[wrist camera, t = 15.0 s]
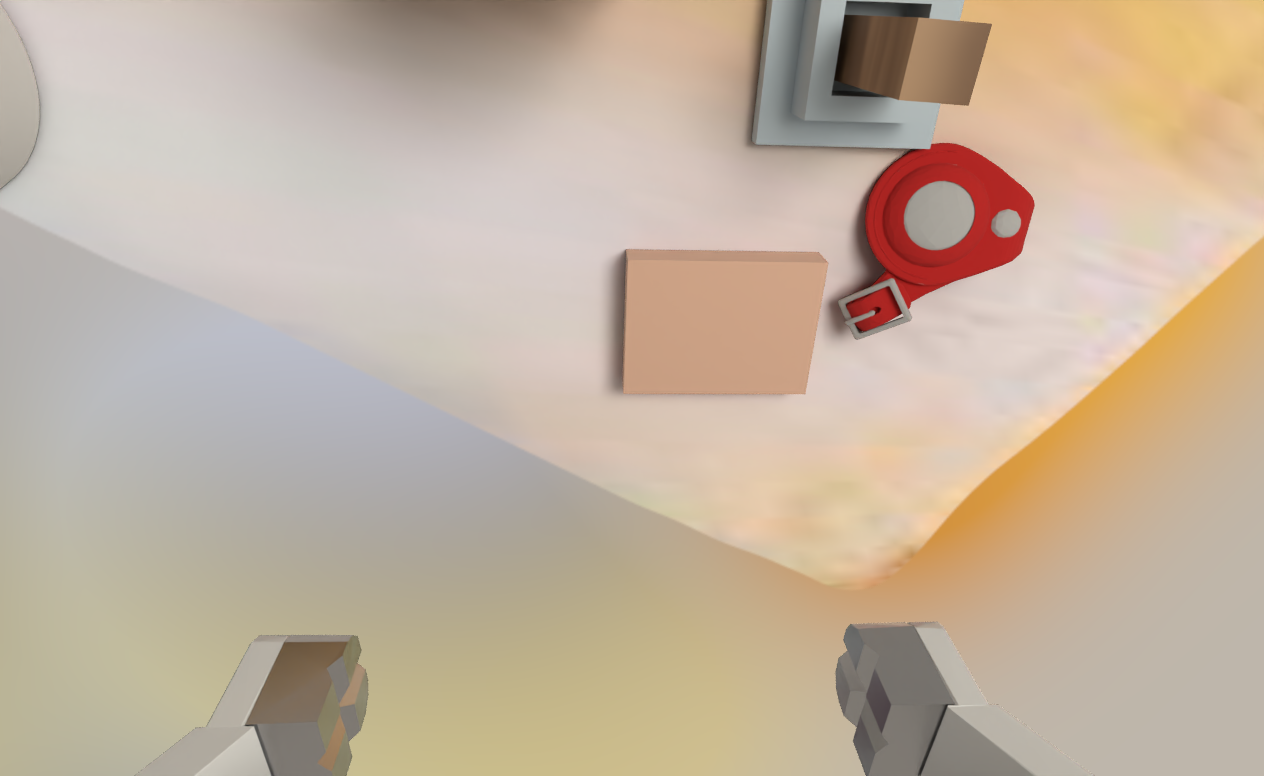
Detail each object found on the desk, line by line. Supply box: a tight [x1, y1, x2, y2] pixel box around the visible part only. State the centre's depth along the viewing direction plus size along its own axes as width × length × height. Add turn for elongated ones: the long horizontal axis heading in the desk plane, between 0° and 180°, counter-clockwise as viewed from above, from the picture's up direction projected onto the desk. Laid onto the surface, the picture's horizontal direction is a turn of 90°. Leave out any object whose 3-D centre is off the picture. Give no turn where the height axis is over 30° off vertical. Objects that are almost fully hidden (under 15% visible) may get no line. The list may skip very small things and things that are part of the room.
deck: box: [622, 249, 828, 394], centre depth 44 cm, size 12×9×2 cm
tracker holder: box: [838, 143, 1034, 340], centre depth 42 cm, size 12×4×10 cm
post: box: [834, 15, 992, 106], centre depth 32 cm, size 3×3×10 cm
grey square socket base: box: [752, 0, 964, 149], centre depth 36 cm, size 10×10×4 cm
